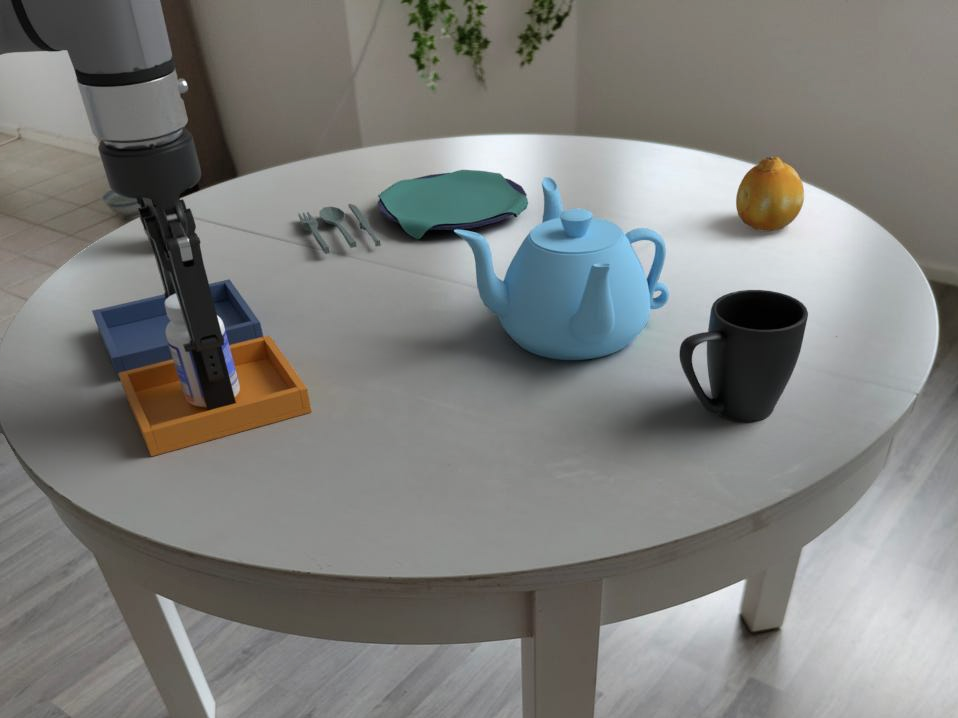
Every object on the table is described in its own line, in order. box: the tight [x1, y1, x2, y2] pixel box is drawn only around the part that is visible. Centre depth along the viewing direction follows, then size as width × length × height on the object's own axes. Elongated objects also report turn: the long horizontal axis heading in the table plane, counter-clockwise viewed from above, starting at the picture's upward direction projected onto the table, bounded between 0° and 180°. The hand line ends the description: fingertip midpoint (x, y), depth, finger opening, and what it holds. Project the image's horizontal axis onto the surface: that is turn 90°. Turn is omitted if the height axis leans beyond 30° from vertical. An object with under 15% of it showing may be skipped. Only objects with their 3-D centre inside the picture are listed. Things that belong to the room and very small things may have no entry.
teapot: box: [453, 176, 670, 361], centre depth 96 cm, size 17×19×12 cm
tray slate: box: [91, 278, 264, 382], centre depth 102 cm, size 16×13×3 cm
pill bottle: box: [165, 293, 240, 407], centre depth 88 cm, size 5×5×10 cm
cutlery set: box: [297, 169, 529, 255], centre depth 124 cm, size 20×30×2 cm, turn 110°
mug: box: [678, 289, 809, 423], centre depth 84 cm, size 8×12×10 cm
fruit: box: [735, 156, 805, 232], centre depth 116 cm, size 8×8×8 cm
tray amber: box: [118, 334, 312, 457], centre depth 92 cm, size 16×13×3 cm
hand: (213, 391), depth 92 cm, fingers closed on pill bottle, 5 cm apart
